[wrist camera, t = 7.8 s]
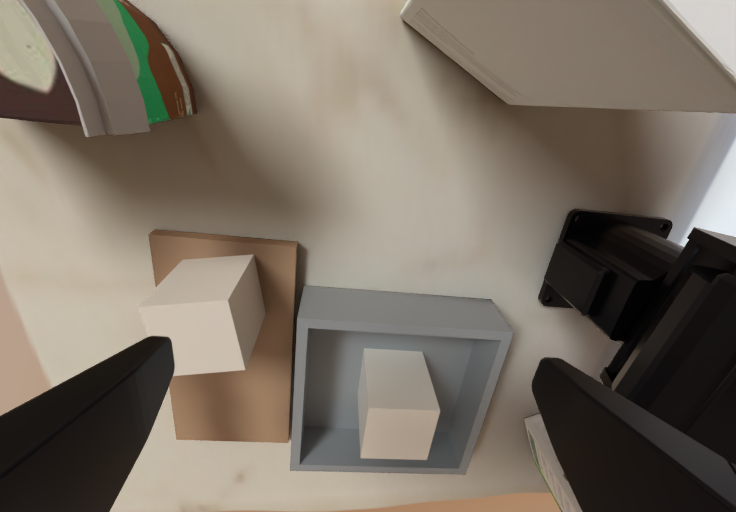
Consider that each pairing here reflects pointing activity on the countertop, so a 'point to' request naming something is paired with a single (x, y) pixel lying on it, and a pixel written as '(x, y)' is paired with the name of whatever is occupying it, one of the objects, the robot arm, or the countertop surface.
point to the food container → (89, 66)
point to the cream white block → (207, 313)
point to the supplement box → (591, 50)
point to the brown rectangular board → (268, 358)
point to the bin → (392, 332)
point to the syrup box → (550, 465)
